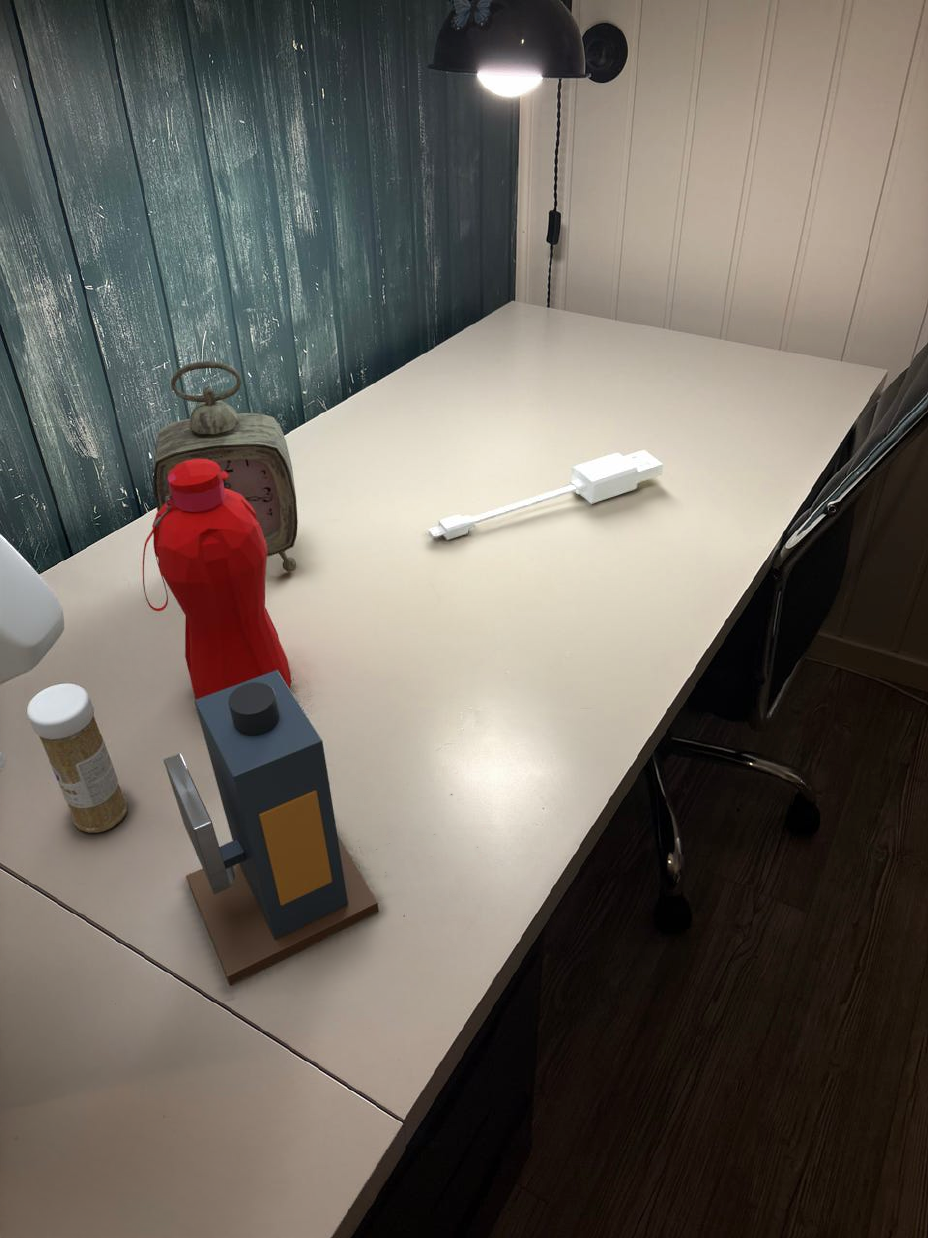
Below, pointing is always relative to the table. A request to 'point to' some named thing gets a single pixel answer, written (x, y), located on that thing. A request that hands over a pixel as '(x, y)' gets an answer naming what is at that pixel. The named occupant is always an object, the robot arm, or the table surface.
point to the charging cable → (573, 488)
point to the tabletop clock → (234, 458)
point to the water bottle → (216, 579)
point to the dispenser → (273, 832)
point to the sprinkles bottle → (78, 756)
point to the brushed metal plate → (197, 823)
